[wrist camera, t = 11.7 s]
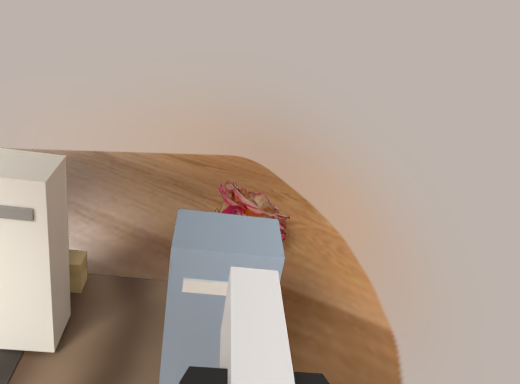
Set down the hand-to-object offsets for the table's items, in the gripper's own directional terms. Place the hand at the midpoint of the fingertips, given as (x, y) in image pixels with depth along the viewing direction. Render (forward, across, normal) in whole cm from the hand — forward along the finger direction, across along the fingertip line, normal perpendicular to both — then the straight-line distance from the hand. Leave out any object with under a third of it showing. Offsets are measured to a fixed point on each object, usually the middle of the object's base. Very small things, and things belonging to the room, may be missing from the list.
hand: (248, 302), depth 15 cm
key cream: (+16, -14, -18) cm, 28 cm away
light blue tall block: (+11, 0, -18) cm, 21 cm away
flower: (+33, +4, -20) cm, 39 cm away
